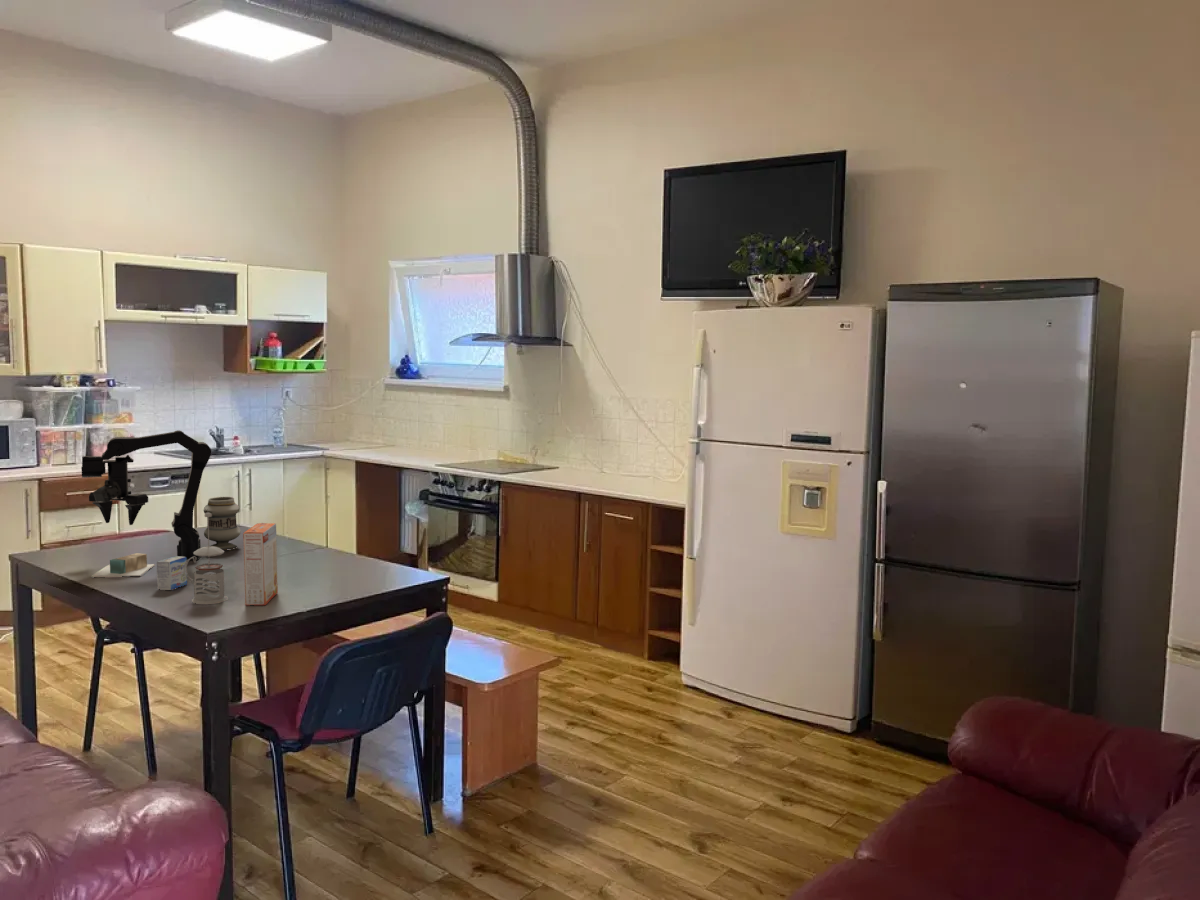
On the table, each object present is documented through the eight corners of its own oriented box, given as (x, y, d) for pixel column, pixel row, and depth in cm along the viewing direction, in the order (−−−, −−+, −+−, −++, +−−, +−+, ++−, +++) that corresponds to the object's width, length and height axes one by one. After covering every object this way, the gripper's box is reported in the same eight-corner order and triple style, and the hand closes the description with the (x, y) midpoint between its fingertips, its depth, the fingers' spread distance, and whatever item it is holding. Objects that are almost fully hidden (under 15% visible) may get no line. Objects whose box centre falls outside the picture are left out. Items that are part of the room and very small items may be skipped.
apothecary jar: (196, 550, 329) (195, 499, 327) (217, 544, 341) (217, 494, 339) (227, 552, 326) (226, 501, 325) (247, 546, 338) (246, 496, 336)
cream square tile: (154, 566, 305) (154, 564, 304) (140, 576, 290) (140, 575, 290) (108, 566, 302) (108, 564, 302) (91, 577, 287) (91, 575, 287)
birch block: (136, 553, 302) (109, 560, 291) (146, 554, 301) (120, 561, 290) (136, 565, 302) (110, 572, 292) (146, 566, 301) (120, 573, 291)
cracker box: (257, 593, 274) (256, 522, 272) (278, 593, 274) (277, 522, 272) (243, 606, 260) (242, 531, 258) (265, 606, 261) (264, 531, 258)
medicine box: (170, 591, 274) (169, 562, 273) (157, 590, 275) (156, 561, 274) (187, 585, 282) (186, 556, 281) (174, 583, 283) (173, 555, 282)
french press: (222, 604, 261) (220, 515, 259) (178, 604, 260) (176, 515, 258) (232, 595, 271) (231, 509, 269) (191, 595, 270) (189, 509, 268)
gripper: (74, 477, 299) (76, 526, 301) (123, 481, 294) (124, 530, 296) (101, 473, 310) (103, 520, 312) (148, 476, 305) (150, 524, 307)
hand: (119, 523), depth 306 cm, fingers open, 9 cm apart
